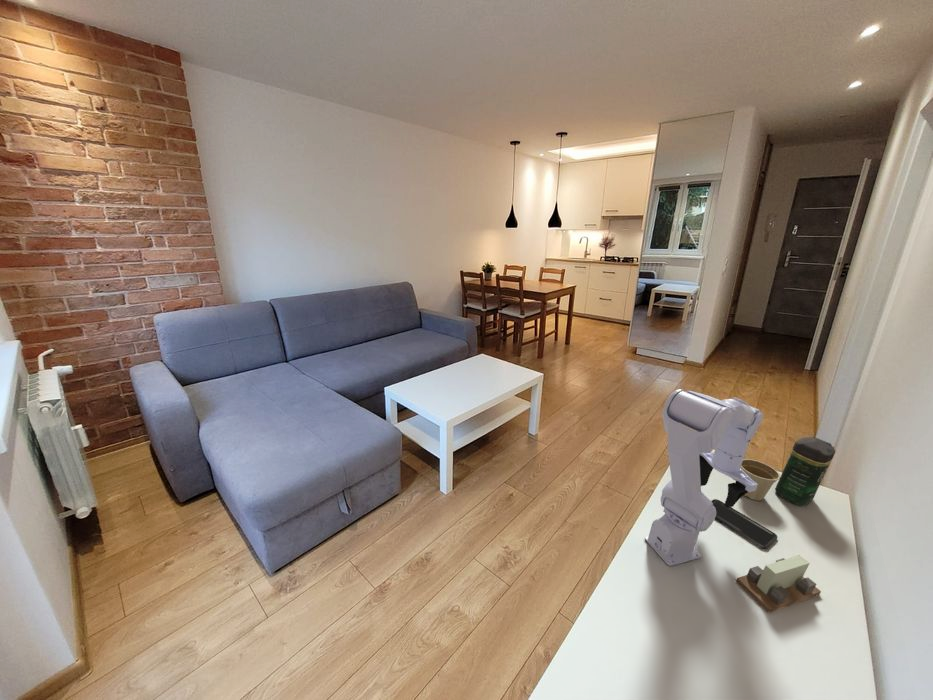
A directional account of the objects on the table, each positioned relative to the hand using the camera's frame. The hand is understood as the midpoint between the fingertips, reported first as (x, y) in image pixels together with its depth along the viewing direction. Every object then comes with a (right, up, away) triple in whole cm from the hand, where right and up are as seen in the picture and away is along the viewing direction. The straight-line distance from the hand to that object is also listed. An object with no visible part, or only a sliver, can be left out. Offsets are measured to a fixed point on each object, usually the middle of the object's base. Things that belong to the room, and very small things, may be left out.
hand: (714, 495), depth 91 cm
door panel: (+4, -14, -13) cm, 20 cm away
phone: (+9, -10, +4) cm, 14 cm away
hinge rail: (+5, -15, -13) cm, 20 cm away
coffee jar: (+33, -6, +15) cm, 37 cm away
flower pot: (+21, -6, +15) cm, 27 cm away
